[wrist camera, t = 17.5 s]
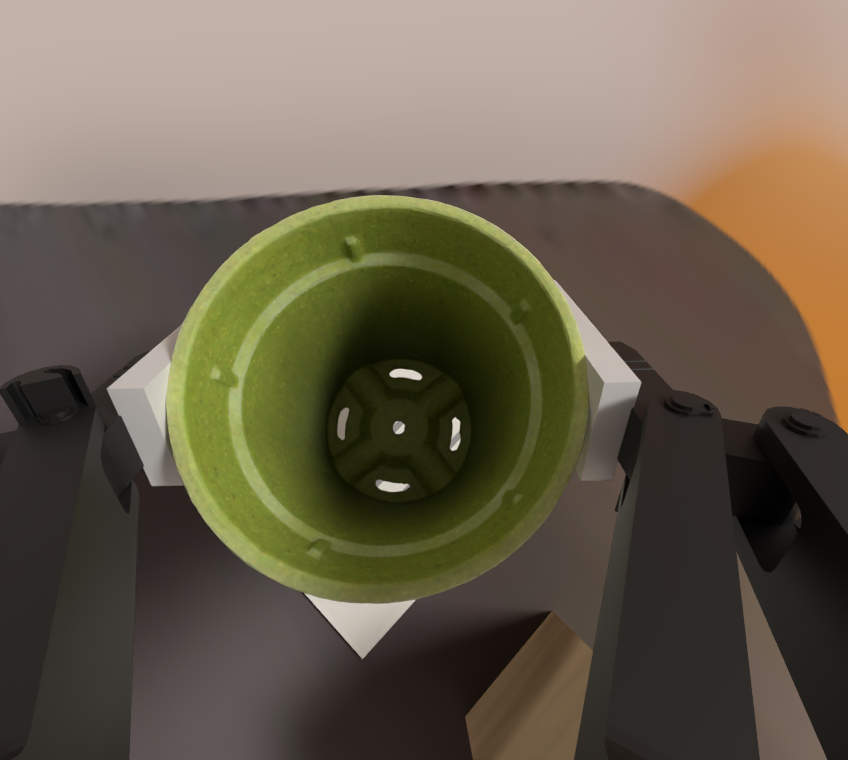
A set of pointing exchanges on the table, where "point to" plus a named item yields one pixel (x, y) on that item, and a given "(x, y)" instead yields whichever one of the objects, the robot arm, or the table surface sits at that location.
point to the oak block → (534, 699)
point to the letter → (370, 620)
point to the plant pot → (377, 399)
